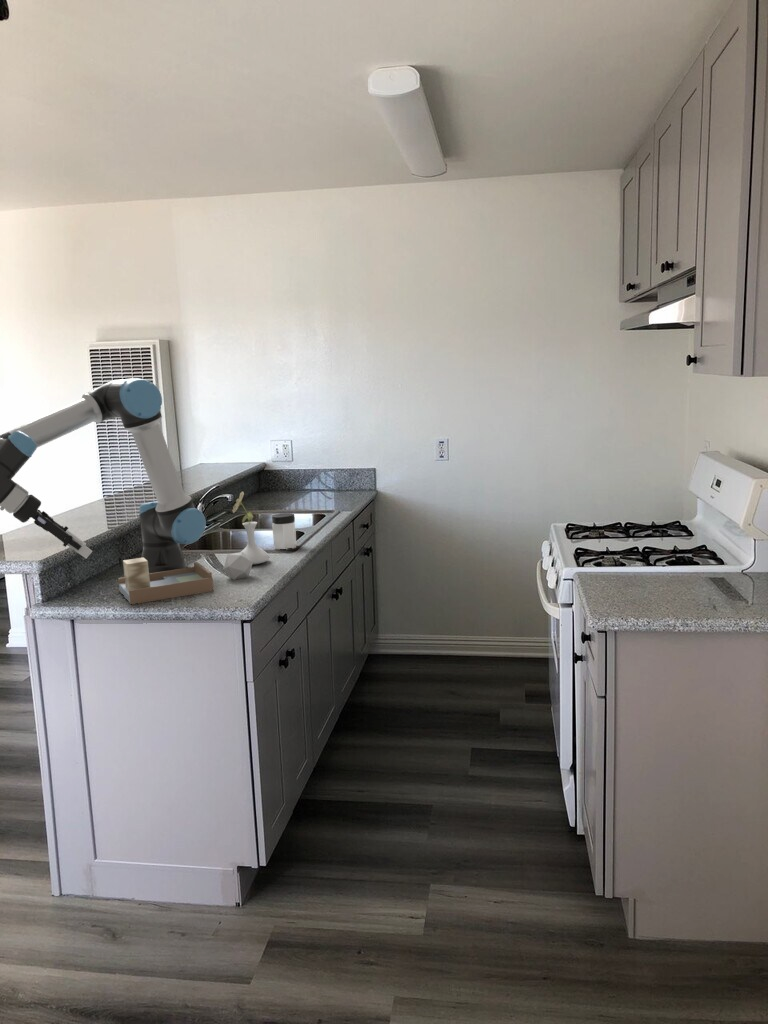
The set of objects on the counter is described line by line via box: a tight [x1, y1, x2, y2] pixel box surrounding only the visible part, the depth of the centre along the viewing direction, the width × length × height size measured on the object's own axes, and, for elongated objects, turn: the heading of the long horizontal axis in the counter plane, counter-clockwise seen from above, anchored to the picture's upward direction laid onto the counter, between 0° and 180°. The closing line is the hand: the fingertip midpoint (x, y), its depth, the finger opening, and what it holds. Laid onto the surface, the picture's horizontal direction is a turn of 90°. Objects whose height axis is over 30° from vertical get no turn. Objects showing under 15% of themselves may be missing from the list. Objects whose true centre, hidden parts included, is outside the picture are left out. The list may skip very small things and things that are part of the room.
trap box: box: [118, 561, 214, 605], centre depth 245 cm, size 24×18×6 cm
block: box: [122, 557, 150, 590], centre depth 241 cm, size 6×6×8 cm
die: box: [222, 551, 253, 581], centre depth 257 cm, size 8×9×10 cm
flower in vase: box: [231, 491, 270, 566], centre depth 274 cm, size 13×11×25 cm
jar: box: [271, 512, 297, 550], centre depth 299 cm, size 9×8×12 cm
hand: (86, 551), depth 234 cm, fingers open, 11 cm apart
